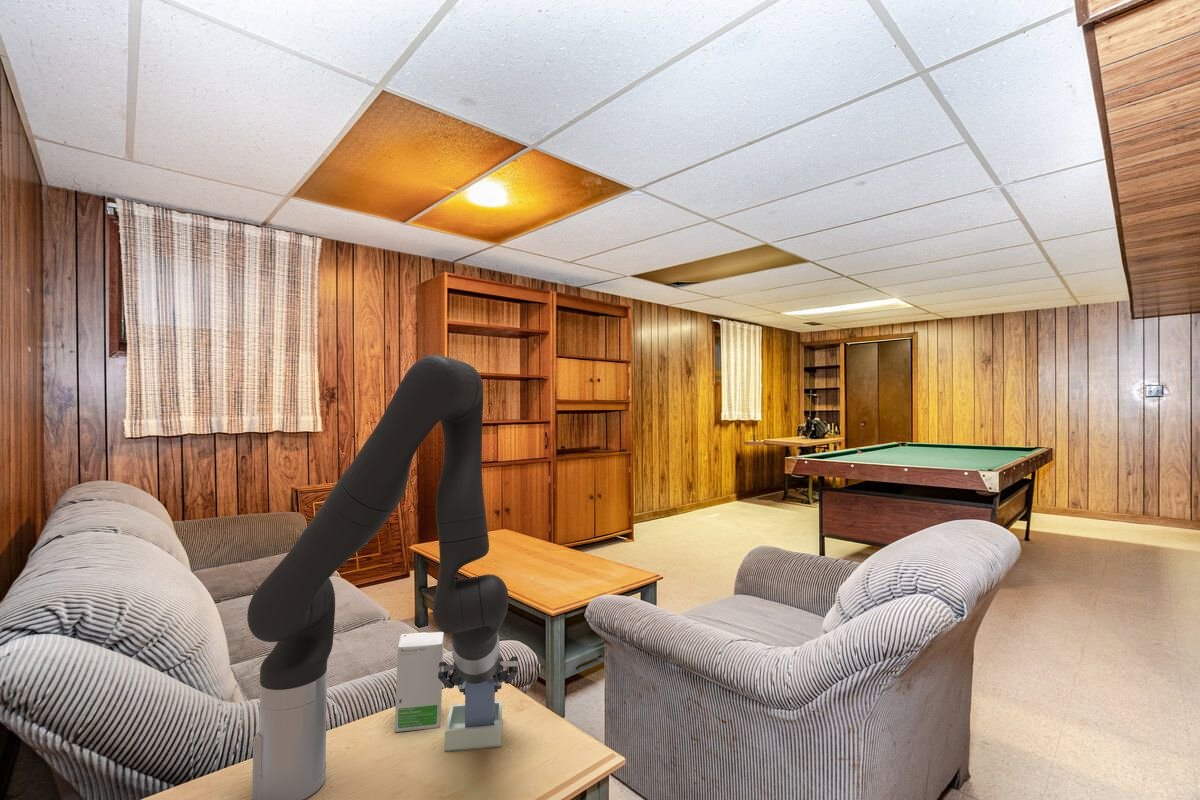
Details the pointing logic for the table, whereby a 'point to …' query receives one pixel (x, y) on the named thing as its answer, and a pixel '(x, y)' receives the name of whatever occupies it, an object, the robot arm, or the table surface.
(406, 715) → the skincare box
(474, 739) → the tray
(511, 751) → the table surface
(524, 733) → the table surface
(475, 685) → the tea box
